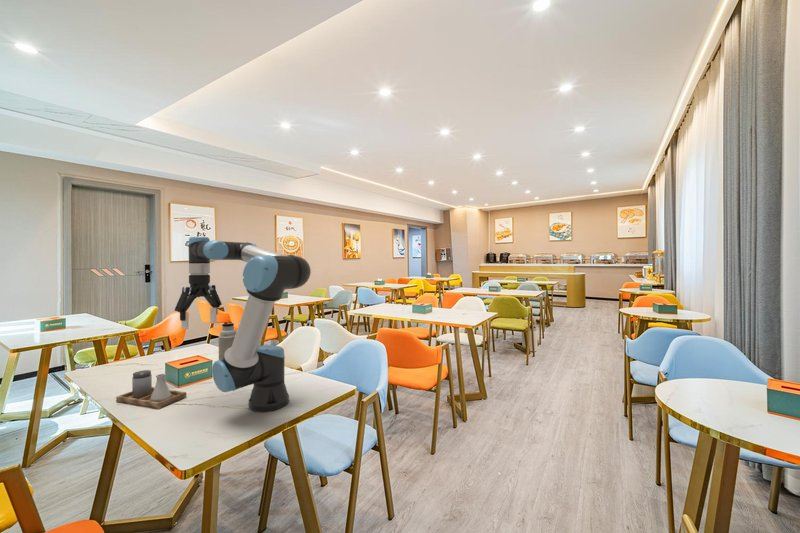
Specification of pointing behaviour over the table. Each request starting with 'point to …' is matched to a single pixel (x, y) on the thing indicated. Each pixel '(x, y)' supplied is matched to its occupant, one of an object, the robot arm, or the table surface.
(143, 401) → the caddy
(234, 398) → the table surface
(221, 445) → the table surface
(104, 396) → the table surface
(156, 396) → the flask
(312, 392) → the table surface
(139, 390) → the pepper shaker
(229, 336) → the thermos bottle
